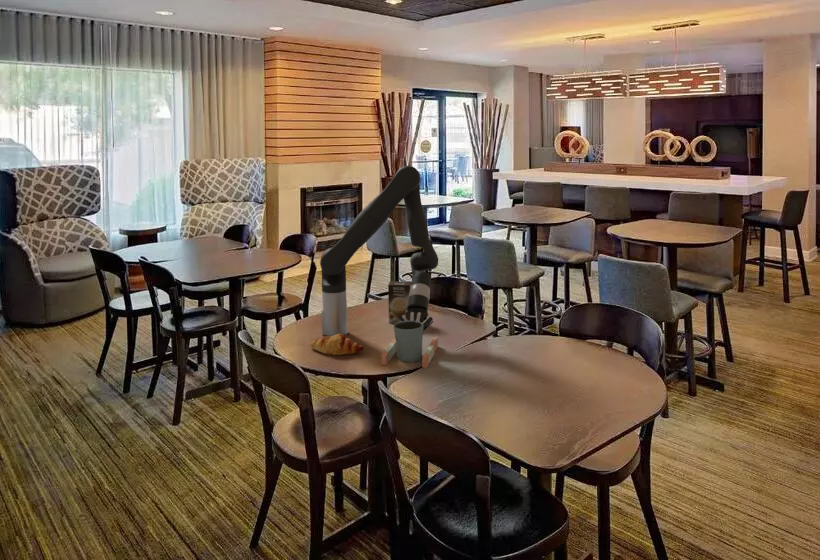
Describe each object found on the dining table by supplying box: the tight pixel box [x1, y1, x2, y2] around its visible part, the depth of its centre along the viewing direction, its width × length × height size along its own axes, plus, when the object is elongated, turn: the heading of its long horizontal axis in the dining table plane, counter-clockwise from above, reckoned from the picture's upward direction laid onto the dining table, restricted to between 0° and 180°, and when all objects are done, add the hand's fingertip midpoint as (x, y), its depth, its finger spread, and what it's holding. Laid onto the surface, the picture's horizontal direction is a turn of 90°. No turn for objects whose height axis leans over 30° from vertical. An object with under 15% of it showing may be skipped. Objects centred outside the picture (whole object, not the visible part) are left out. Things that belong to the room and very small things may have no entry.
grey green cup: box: [393, 321, 424, 363], centre depth 231 cm, size 10×10×12 cm
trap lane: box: [381, 336, 439, 369], centre depth 235 cm, size 15×22×4 cm
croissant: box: [309, 334, 365, 356], centre depth 240 cm, size 21×10×8 cm
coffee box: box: [387, 281, 412, 324], centre depth 274 cm, size 9×6×16 cm
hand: (412, 341), depth 237 cm, fingers closed
